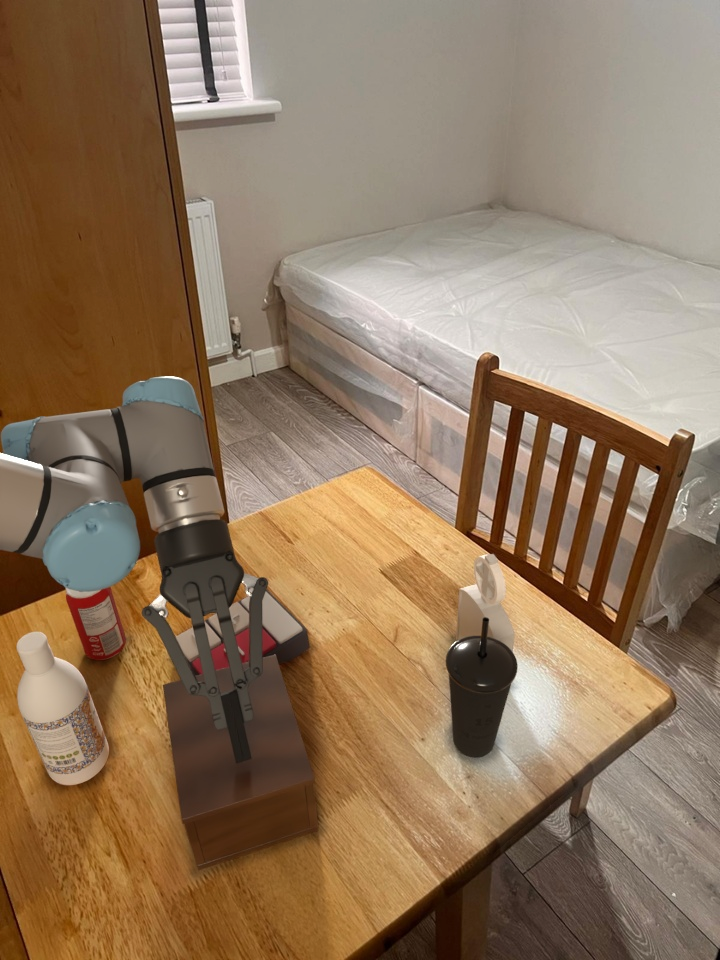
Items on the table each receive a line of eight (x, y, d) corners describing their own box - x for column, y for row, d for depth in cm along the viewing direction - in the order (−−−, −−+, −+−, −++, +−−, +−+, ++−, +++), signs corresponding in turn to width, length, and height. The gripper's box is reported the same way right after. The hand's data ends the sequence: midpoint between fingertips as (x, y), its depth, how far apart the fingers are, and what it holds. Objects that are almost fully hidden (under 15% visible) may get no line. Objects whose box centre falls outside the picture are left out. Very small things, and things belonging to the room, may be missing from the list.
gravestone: (473, 634, 100) (483, 531, 90) (507, 685, 93) (522, 580, 82) (455, 639, 99) (462, 536, 89) (488, 692, 92) (500, 586, 82)
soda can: (101, 627, 103) (80, 563, 96) (134, 636, 101) (116, 572, 94) (76, 656, 98) (53, 591, 92) (111, 666, 97) (89, 601, 90)
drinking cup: (430, 724, 88) (435, 604, 77) (486, 705, 90) (500, 585, 79) (459, 778, 82) (470, 656, 71) (518, 756, 84) (538, 634, 73)
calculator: (167, 636, 96) (263, 582, 103) (174, 658, 98) (267, 603, 105) (207, 688, 89) (307, 626, 96) (213, 710, 91) (311, 648, 98)
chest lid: (315, 783, 71) (314, 778, 71) (183, 824, 68) (181, 819, 68) (276, 659, 84) (275, 654, 84) (163, 689, 81) (162, 684, 81)
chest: (318, 830, 78) (312, 775, 72) (197, 871, 74) (182, 816, 69) (283, 714, 90) (276, 659, 84) (178, 744, 87) (163, 689, 81)
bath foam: (116, 769, 84) (73, 650, 73) (54, 798, 81) (-1, 678, 70) (102, 726, 89) (59, 607, 78) (43, 751, 86) (-10, 632, 75)
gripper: (120, 536, 70) (174, 788, 66) (254, 505, 73) (313, 744, 69) (128, 545, 77) (177, 773, 73) (250, 517, 80) (302, 733, 77)
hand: (243, 758), depth 71 cm, fingers closed
